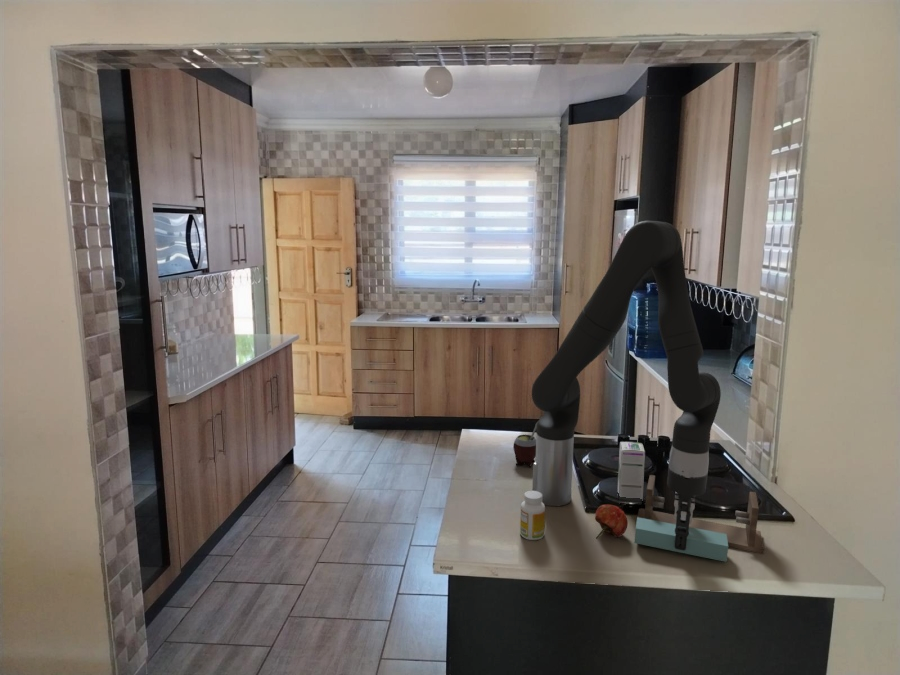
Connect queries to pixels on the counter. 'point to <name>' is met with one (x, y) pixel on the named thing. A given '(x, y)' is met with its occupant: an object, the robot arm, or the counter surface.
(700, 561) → the counter surface
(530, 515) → the supplement bottle
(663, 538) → the teal rectangular block
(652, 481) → the rack
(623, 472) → the syrup box
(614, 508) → the red mushroom
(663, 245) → the robot arm
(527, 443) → the mate gourd
